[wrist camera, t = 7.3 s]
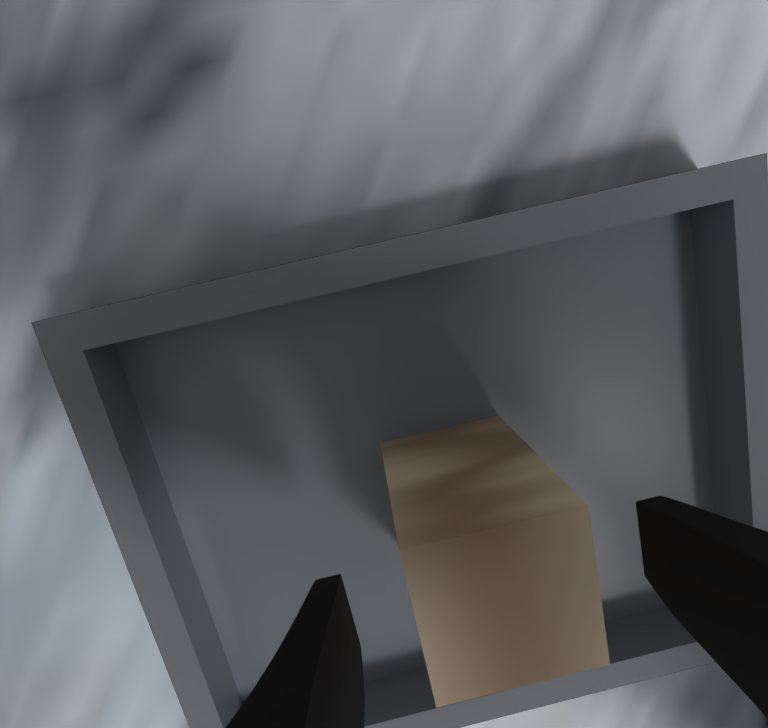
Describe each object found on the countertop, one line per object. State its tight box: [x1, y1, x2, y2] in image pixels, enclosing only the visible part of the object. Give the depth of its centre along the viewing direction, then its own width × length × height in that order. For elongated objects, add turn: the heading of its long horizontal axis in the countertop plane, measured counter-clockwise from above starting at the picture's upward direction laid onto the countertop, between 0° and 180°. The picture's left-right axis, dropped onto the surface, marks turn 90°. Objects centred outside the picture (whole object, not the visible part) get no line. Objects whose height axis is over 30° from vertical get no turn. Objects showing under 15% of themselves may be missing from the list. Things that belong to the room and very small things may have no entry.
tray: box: [31, 153, 768, 728], centre depth 16 cm, size 20×16×2 cm
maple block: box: [380, 415, 610, 708], centre depth 13 cm, size 4×4×6 cm
